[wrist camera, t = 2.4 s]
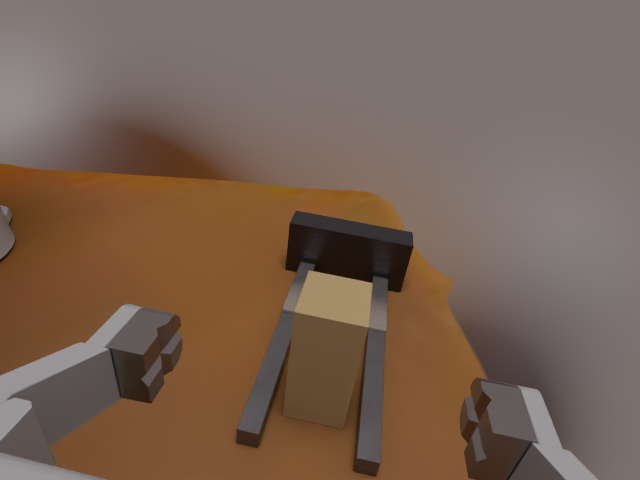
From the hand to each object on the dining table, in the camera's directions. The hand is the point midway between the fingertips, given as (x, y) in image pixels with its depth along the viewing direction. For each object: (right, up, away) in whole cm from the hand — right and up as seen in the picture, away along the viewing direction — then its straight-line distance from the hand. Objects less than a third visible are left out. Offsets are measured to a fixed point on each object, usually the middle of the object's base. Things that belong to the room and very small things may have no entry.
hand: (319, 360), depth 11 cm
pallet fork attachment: (+1, -6, +25) cm, 25 cm away
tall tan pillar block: (0, -9, +20) cm, 21 cm away
